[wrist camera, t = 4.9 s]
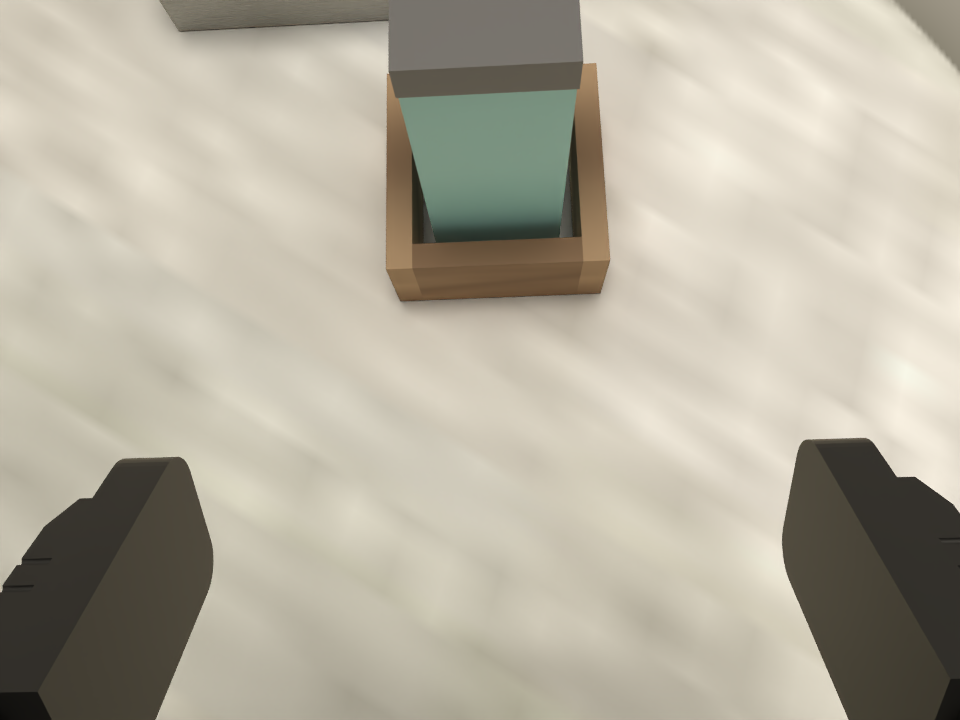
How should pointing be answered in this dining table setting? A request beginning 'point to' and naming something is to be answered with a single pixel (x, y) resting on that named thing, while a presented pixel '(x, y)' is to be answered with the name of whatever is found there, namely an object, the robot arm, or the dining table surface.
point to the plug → (488, 110)
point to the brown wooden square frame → (500, 261)
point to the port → (270, 12)
